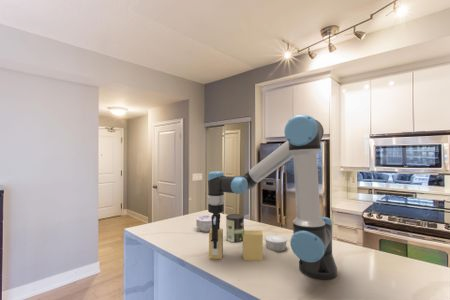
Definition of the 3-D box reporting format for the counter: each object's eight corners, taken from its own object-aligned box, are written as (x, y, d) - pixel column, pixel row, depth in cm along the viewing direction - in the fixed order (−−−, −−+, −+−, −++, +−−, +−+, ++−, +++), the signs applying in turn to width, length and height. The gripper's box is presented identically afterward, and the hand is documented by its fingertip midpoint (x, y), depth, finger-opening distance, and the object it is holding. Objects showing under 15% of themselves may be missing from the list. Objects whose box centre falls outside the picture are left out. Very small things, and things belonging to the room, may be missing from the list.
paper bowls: (206, 224, 163) (206, 213, 164) (224, 228, 155) (224, 216, 155) (191, 230, 151) (191, 218, 151) (209, 235, 142) (209, 222, 142)
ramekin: (261, 248, 122) (261, 238, 122) (272, 242, 130) (272, 233, 131) (280, 254, 115) (280, 244, 115) (290, 248, 123) (290, 238, 123)
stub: (222, 253, 114) (222, 229, 114) (221, 258, 108) (221, 233, 109) (210, 253, 114) (210, 229, 114) (209, 258, 109) (209, 232, 109)
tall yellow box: (261, 255, 113) (261, 230, 113) (262, 260, 107) (262, 234, 107) (242, 254, 113) (242, 230, 113) (243, 260, 108) (242, 233, 108)
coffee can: (245, 238, 137) (244, 214, 138) (242, 244, 127) (242, 219, 127) (228, 236, 139) (227, 213, 140) (224, 243, 129) (224, 218, 129)
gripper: (210, 199, 121) (210, 244, 121) (205, 207, 103) (205, 260, 102) (225, 199, 121) (225, 244, 120) (222, 208, 102) (222, 261, 102)
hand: (216, 251), depth 111 cm, fingers closed on stub, 5 cm apart
